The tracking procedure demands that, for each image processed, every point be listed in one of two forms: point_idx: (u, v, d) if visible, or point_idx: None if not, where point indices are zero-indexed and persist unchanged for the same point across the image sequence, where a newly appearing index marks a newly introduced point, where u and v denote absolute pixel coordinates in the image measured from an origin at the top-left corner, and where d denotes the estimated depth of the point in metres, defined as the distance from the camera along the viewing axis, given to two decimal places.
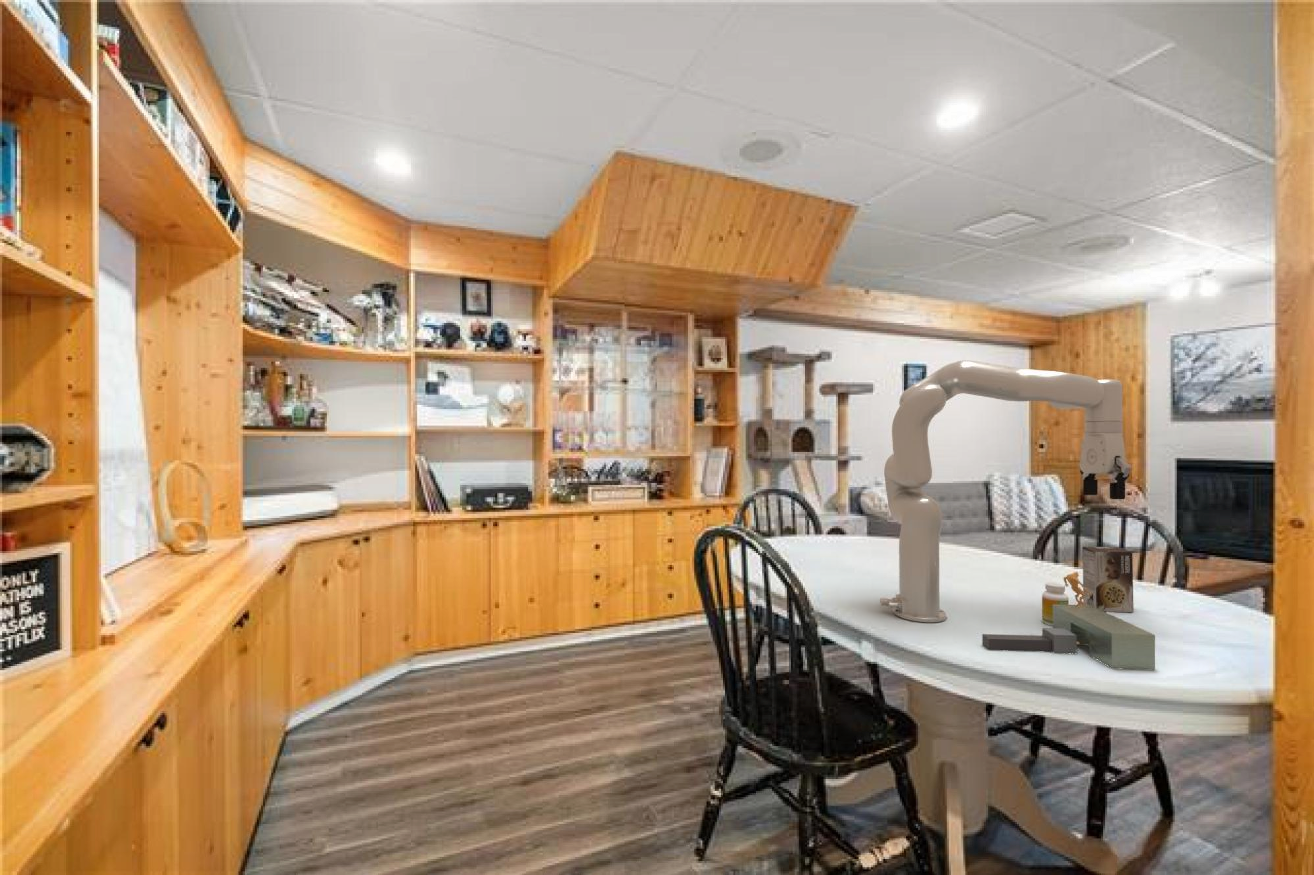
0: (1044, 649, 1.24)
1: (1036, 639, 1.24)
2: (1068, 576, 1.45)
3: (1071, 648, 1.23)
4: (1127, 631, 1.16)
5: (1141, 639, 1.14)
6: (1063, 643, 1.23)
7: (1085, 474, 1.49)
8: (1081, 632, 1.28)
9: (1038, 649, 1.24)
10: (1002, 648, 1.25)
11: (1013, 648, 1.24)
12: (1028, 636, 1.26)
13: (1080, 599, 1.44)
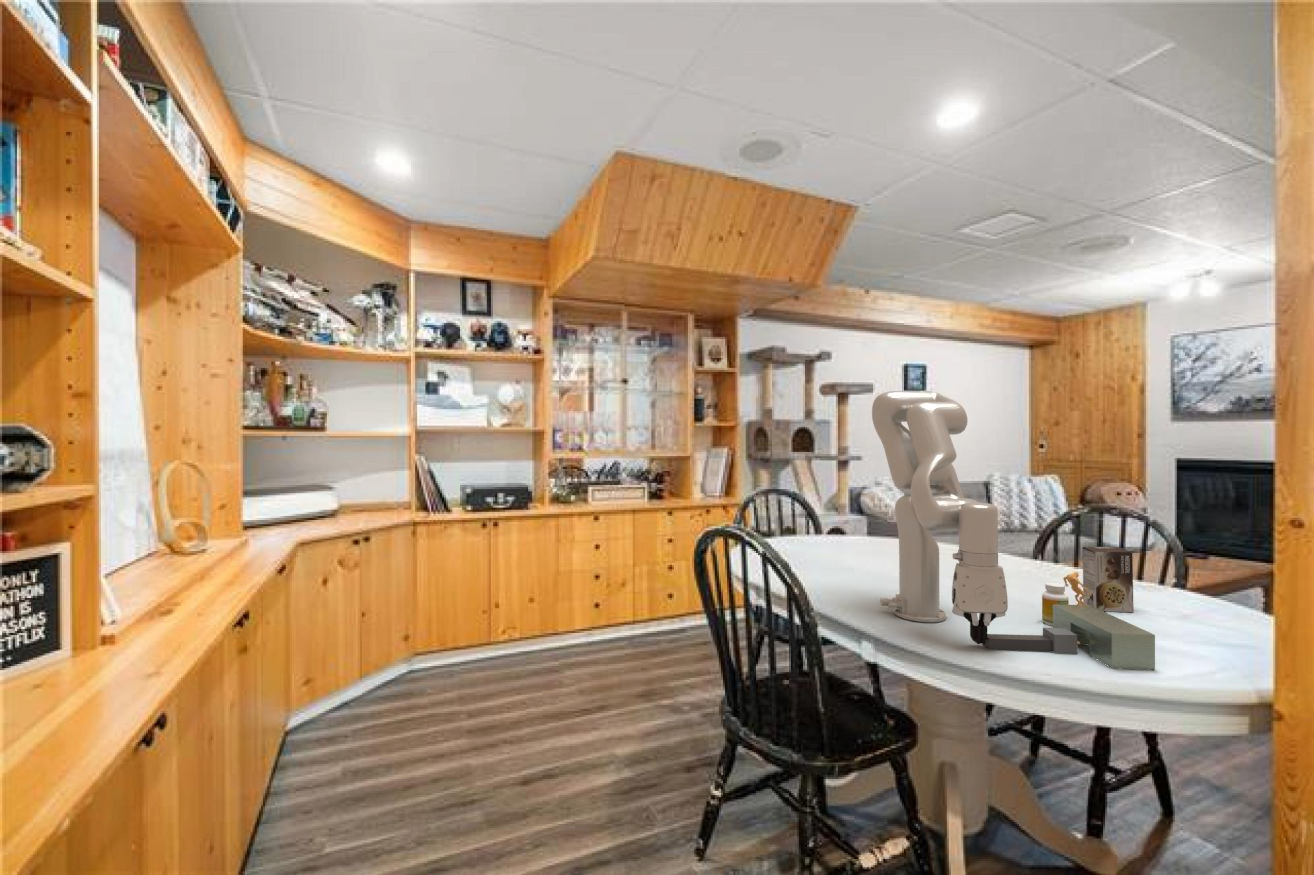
0: (1045, 649, 1.24)
1: (1036, 639, 1.24)
2: (1068, 576, 1.45)
3: (1071, 647, 1.22)
4: (1127, 631, 1.16)
5: (1141, 639, 1.14)
6: (1064, 643, 1.23)
7: (975, 617, 1.25)
8: (1081, 632, 1.28)
9: (1039, 649, 1.24)
10: (1002, 648, 1.25)
11: (1013, 648, 1.24)
12: (1029, 636, 1.26)
13: (1080, 599, 1.44)
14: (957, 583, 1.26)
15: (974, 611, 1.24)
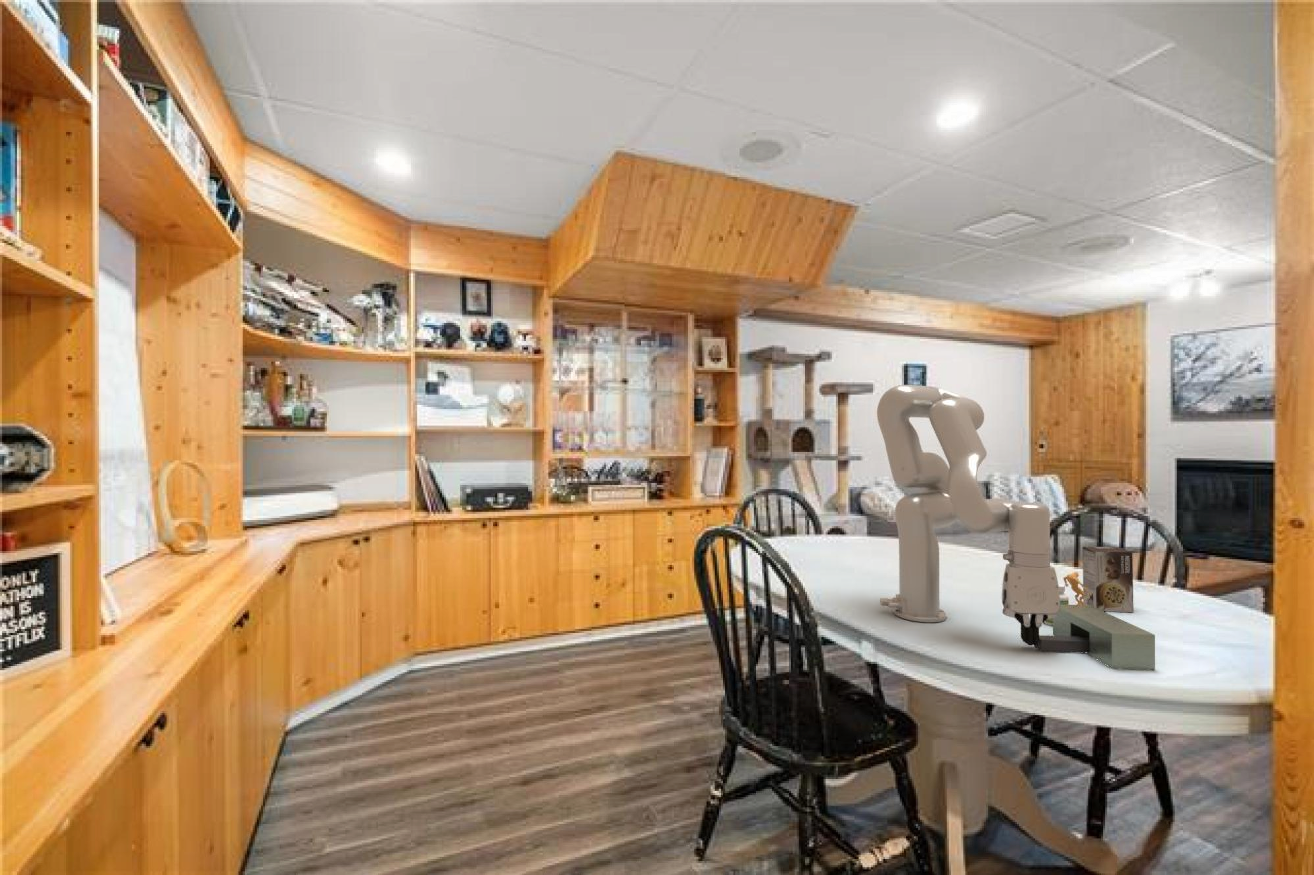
0: None
1: (1089, 641, 1.23)
2: (1068, 576, 1.45)
3: None
4: (1127, 631, 1.16)
5: (1141, 639, 1.14)
6: None
7: (1027, 618, 1.24)
8: (1081, 632, 1.28)
9: None
10: (1055, 649, 1.23)
11: (1066, 649, 1.23)
12: (1081, 638, 1.25)
13: (1080, 599, 1.44)
14: (1008, 584, 1.25)
15: (1026, 612, 1.23)
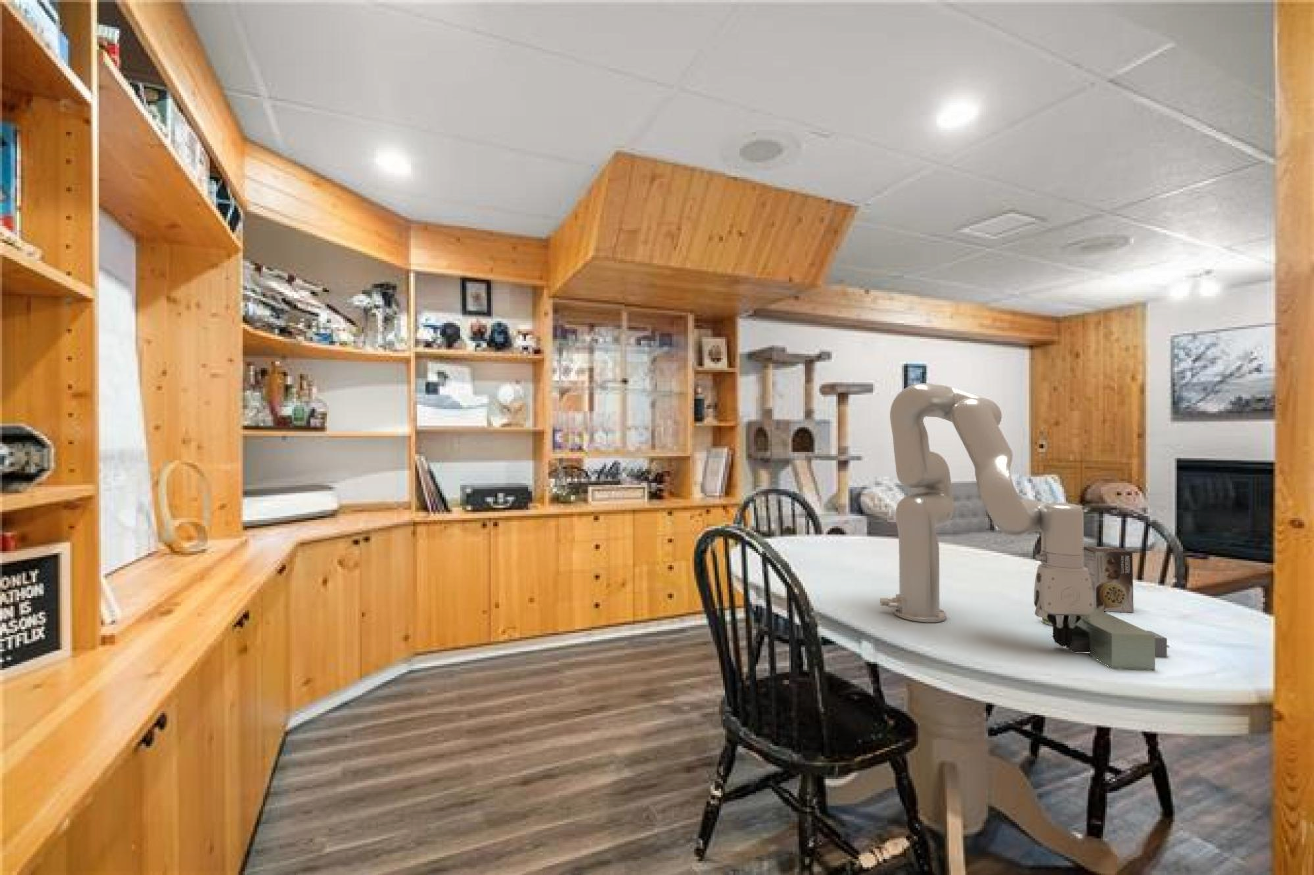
0: None
1: None
2: None
3: (1161, 651, 1.20)
4: (1127, 631, 1.16)
5: (1141, 639, 1.14)
6: None
7: (1060, 619, 1.24)
8: (1081, 632, 1.28)
9: None
10: (1088, 650, 1.23)
11: None
12: None
13: None
14: (1041, 585, 1.24)
15: (1060, 613, 1.22)
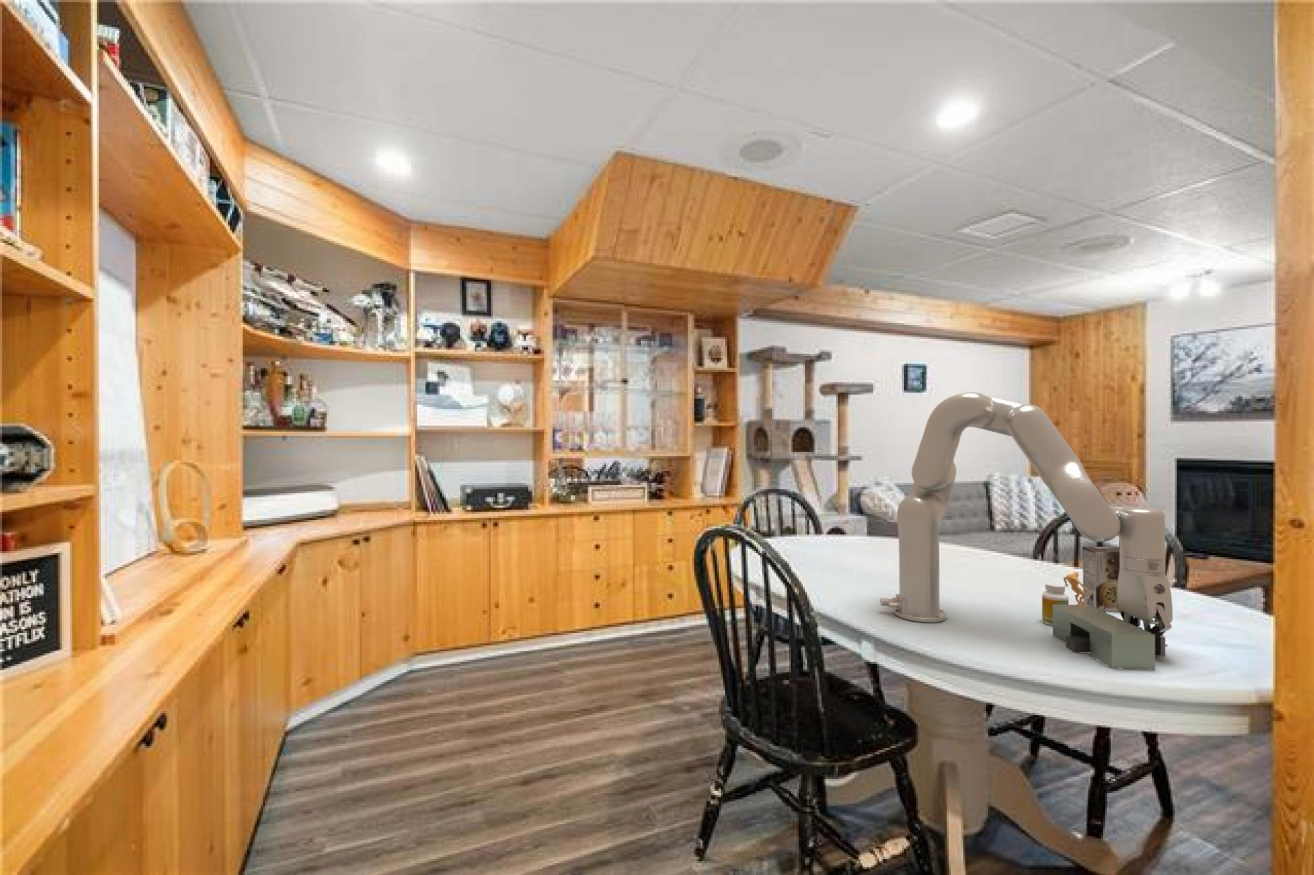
0: None
1: None
2: (1068, 576, 1.45)
3: None
4: (1127, 631, 1.16)
5: (1141, 639, 1.14)
6: None
7: None
8: (1081, 632, 1.28)
9: None
10: (1088, 650, 1.23)
11: None
12: None
13: (1080, 599, 1.44)
14: (1166, 595, 1.18)
15: None
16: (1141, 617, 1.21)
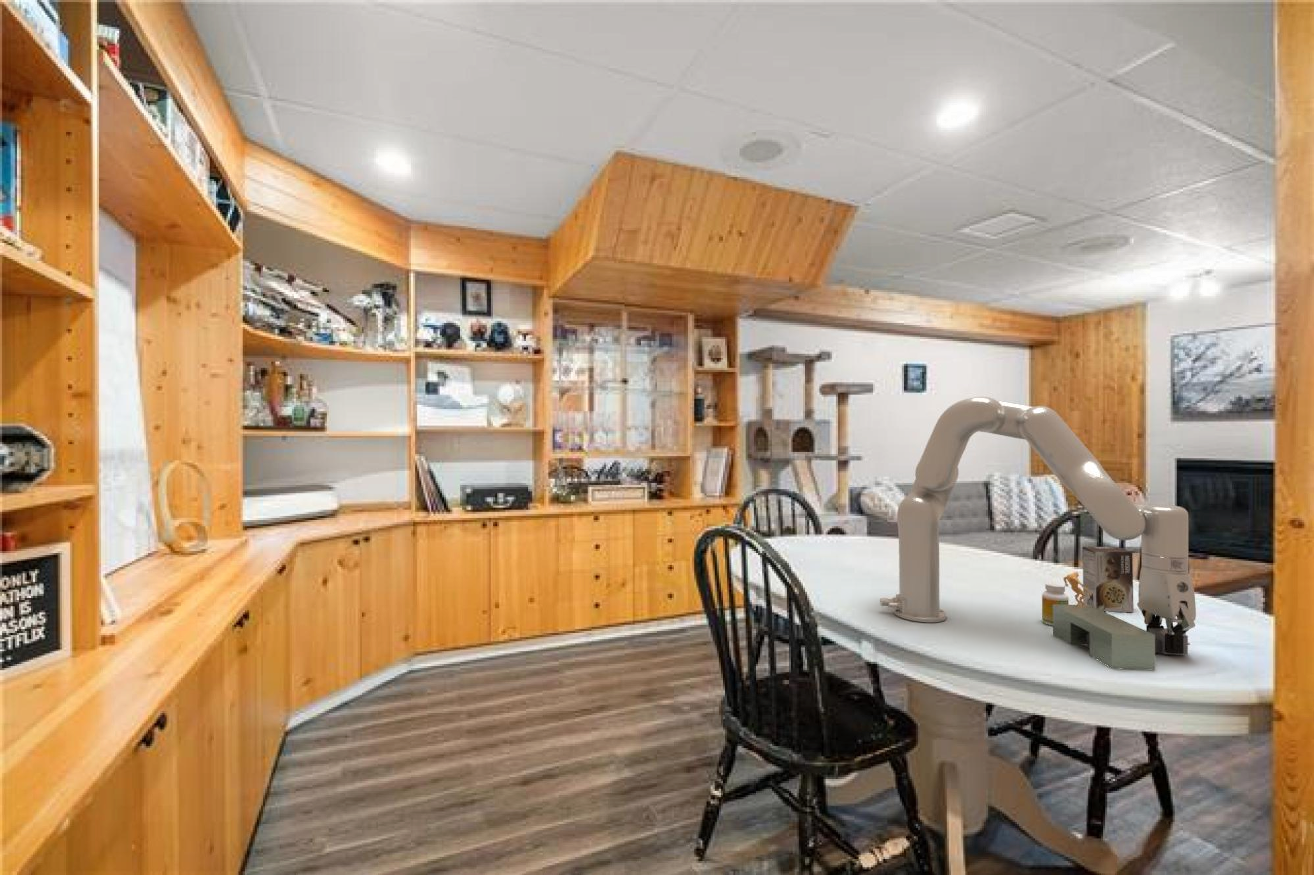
0: None
1: None
2: (1068, 576, 1.45)
3: None
4: (1127, 631, 1.16)
5: (1141, 639, 1.14)
6: None
7: None
8: (1081, 632, 1.28)
9: None
10: None
11: None
12: None
13: (1080, 599, 1.44)
14: (1190, 593, 1.18)
15: None
16: (1164, 615, 1.20)
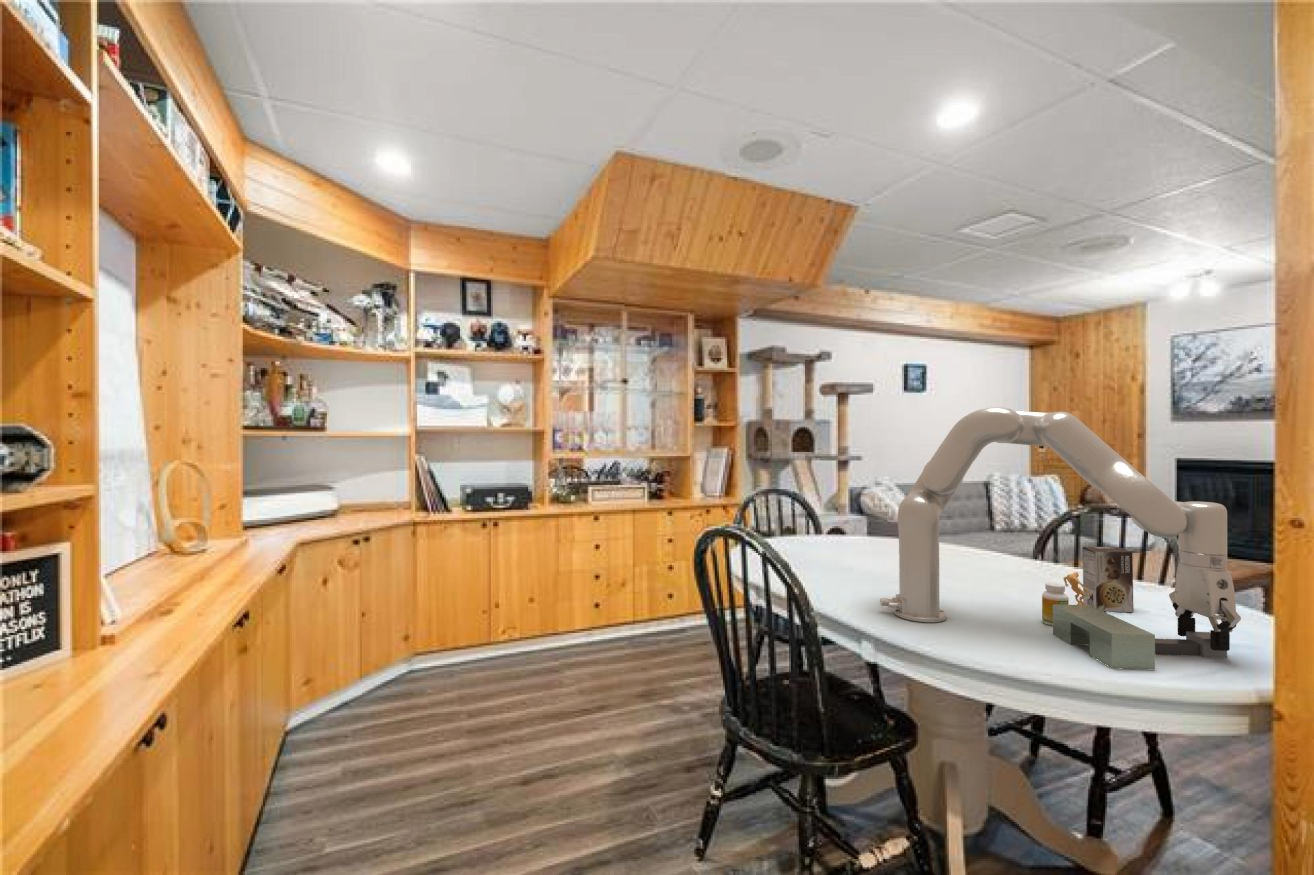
0: (1192, 653, 1.21)
1: (1183, 643, 1.21)
2: (1068, 576, 1.45)
3: (1221, 652, 1.20)
4: (1127, 631, 1.16)
5: (1141, 639, 1.14)
6: None
7: None
8: (1081, 632, 1.28)
9: (1186, 653, 1.21)
10: None
11: (1159, 652, 1.22)
12: (1174, 640, 1.23)
13: (1080, 599, 1.44)
14: (1229, 590, 1.17)
15: None
16: (1203, 613, 1.20)
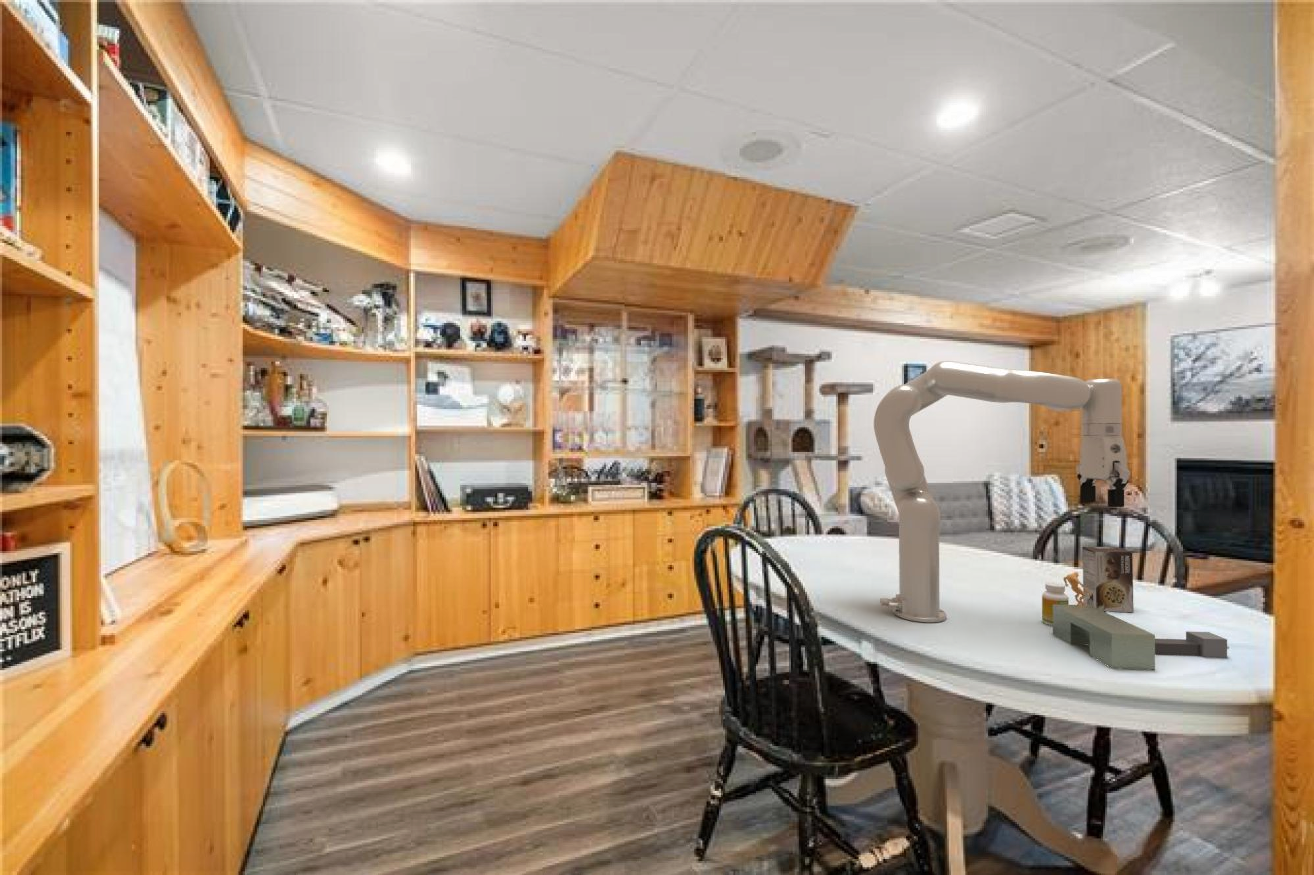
0: (1192, 653, 1.21)
1: (1183, 643, 1.21)
2: (1068, 576, 1.45)
3: (1221, 652, 1.20)
4: (1127, 631, 1.16)
5: (1141, 639, 1.14)
6: (1213, 647, 1.20)
7: None
8: (1081, 632, 1.28)
9: (1186, 653, 1.21)
10: None
11: (1159, 652, 1.22)
12: (1174, 640, 1.23)
13: (1080, 599, 1.44)
14: (1122, 454, 1.30)
15: None
16: (1099, 476, 1.33)
